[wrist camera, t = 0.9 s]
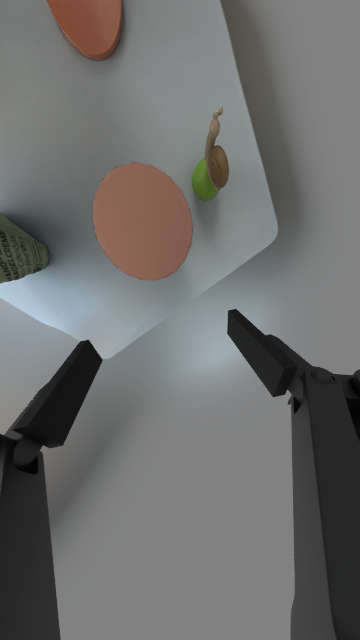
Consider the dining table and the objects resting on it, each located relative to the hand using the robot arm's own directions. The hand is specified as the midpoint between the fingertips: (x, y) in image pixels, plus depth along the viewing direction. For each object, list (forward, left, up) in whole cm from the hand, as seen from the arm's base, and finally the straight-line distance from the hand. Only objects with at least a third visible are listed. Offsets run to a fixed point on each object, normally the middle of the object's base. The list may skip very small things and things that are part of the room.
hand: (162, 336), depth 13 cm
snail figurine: (-16, +13, -26) cm, 33 cm away
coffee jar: (-9, 0, -26) cm, 27 cm away
